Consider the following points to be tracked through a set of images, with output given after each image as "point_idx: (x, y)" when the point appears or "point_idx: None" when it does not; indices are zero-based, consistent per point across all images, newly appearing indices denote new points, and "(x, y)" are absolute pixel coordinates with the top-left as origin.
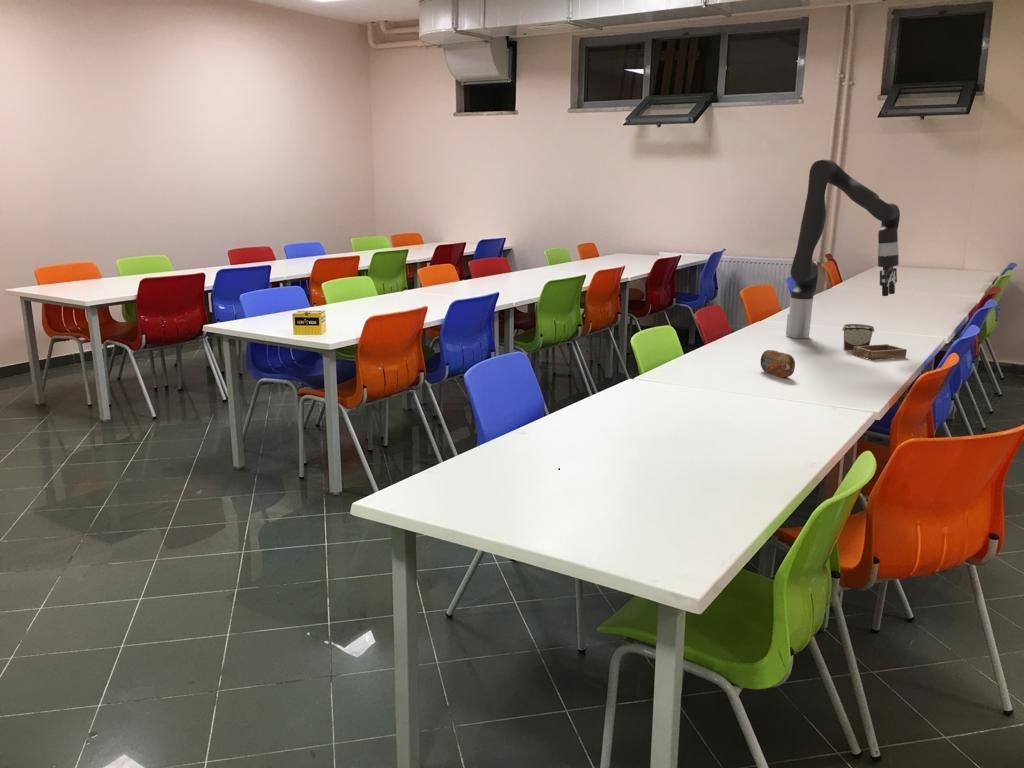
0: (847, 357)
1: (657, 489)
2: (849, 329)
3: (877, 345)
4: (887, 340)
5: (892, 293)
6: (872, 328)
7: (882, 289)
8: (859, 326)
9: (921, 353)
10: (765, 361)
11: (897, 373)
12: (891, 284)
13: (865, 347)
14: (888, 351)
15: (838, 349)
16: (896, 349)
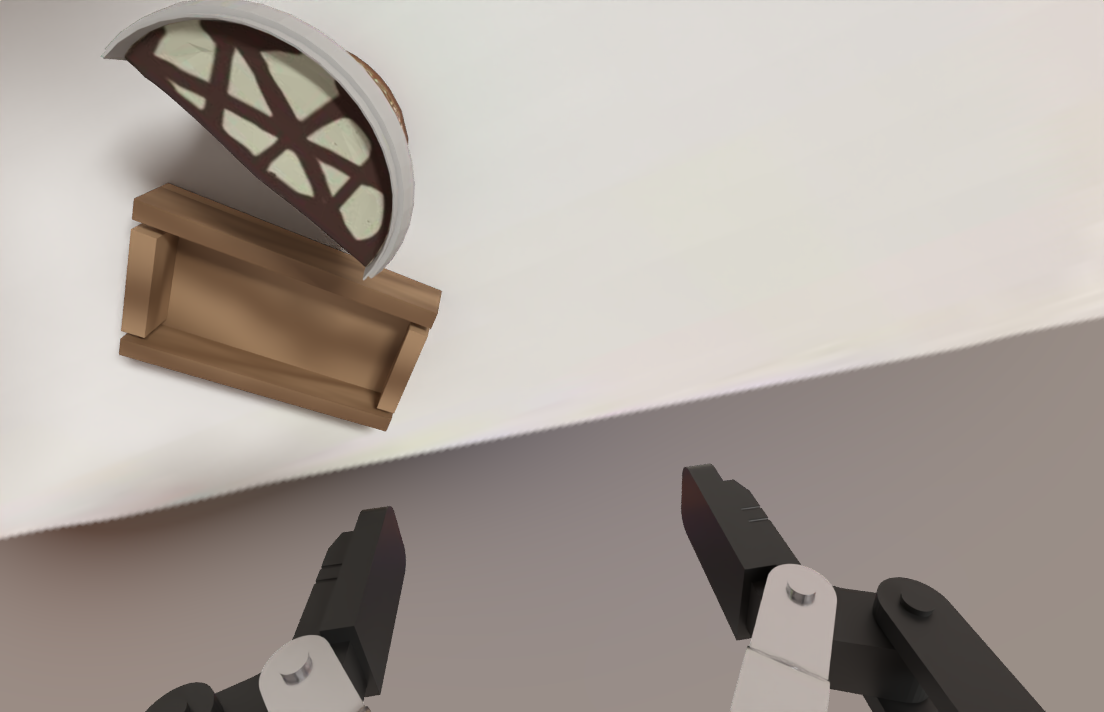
0: (52, 199)
1: None
2: (181, 100)
3: (341, 293)
4: (839, 143)
5: (682, 507)
6: (369, 265)
7: (334, 593)
8: (369, 131)
9: (563, 406)
10: None
11: (33, 500)
12: (749, 611)
13: (236, 253)
14: (255, 390)
15: None
16: (332, 403)
